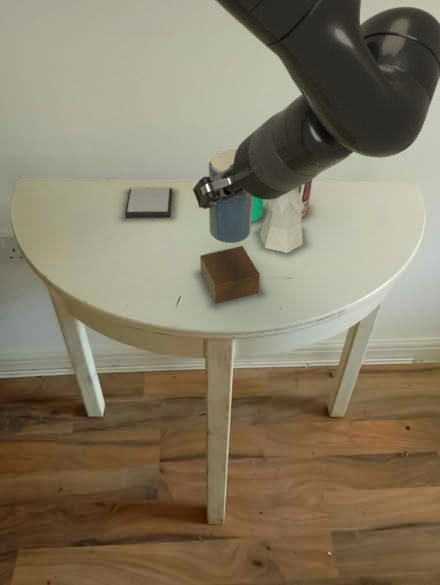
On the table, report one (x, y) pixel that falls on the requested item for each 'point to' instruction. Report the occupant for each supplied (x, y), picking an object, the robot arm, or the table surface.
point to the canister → (229, 206)
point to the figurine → (284, 222)
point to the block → (229, 274)
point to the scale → (149, 203)
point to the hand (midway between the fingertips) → (224, 194)
